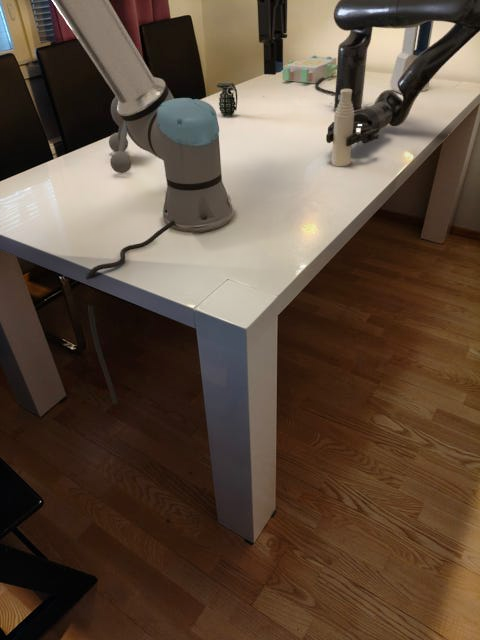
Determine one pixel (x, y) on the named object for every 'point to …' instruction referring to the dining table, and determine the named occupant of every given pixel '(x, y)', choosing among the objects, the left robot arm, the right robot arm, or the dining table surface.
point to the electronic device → (411, 51)
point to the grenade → (227, 99)
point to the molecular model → (119, 143)
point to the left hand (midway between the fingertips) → (273, 71)
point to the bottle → (343, 129)
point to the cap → (278, 66)
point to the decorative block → (310, 69)
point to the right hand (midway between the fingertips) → (337, 140)
